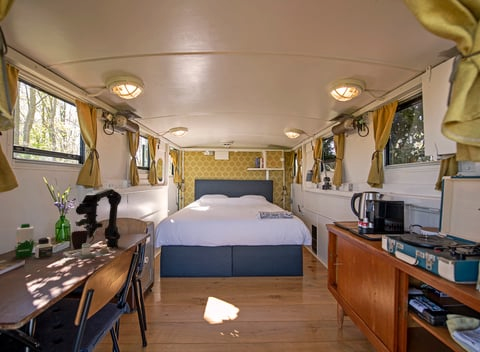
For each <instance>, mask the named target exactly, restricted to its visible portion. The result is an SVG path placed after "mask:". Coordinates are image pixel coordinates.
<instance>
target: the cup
mask: <svg viewBox="0 0 480 352" xmlns="http://www.w3.org/2000/svg"><path fill="white" fill-rule="evenodd" d="M70 235H71V236H70V237H71V243H72V248H73V250H79V249H82V245H83V244H84V243H87V240H88V238H89V237H88V233H87V230H75V231H71V234H70ZM94 239H95V236H94V234H93V235H92V240H91V241H90V242H88V243H89V244H91V243H93V241H94Z"/></svg>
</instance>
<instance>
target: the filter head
mask: <svg viewBox="0 0 480 352" xmlns="http://www.w3.org/2000/svg"><path fill="white" fill-rule="evenodd" d="M109 254H112V252H111V251H109V248H107V250H101V249H99V251H96V252H91V251H90V255H88V256H82V254H78V255H76V256H75V257H76V258H78V259H80V260H81V261H83V260H87V259H91V258H96V257H101V256H104V255H105V256H106V255H109Z"/></svg>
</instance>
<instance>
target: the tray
mask: <svg viewBox="0 0 480 352" xmlns="http://www.w3.org/2000/svg"><path fill="white" fill-rule="evenodd" d="M62 254H63V256H66V257H67V258H70V259H71V258H74V257H76V255H78V254H82V249H79V250H74V249H73V250H69V251H64V252H62Z"/></svg>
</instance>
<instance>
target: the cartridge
mask: <svg viewBox="0 0 480 352" xmlns="http://www.w3.org/2000/svg"><path fill="white" fill-rule="evenodd" d="M89 243H90V242H86V243H84V244H83V245H82V252H81V253H82V256H88V255H90V252H91V247H92V244H91V243H90V244H89Z"/></svg>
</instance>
